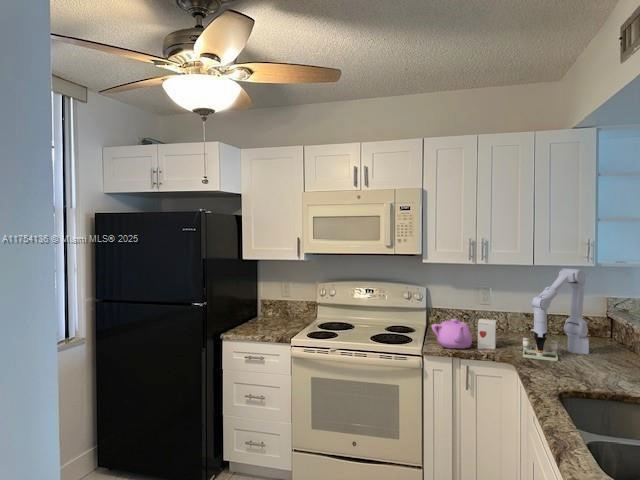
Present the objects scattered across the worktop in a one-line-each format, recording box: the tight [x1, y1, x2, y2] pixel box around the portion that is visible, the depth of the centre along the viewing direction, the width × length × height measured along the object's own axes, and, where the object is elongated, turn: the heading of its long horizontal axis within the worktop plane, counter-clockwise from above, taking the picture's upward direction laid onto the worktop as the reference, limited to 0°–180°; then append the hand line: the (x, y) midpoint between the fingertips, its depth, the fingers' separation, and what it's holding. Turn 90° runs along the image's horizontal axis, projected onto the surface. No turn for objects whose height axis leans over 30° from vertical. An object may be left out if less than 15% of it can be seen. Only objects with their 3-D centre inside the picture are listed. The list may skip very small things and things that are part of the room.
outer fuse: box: [522, 337, 530, 350], centre depth 226 cm, size 3×3×6 cm
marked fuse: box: [535, 344, 544, 357], centre depth 214 cm, size 3×3×6 cm
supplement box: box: [477, 318, 497, 350], centre depth 232 cm, size 9×9×15 cm
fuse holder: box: [519, 345, 562, 356], centre depth 223 cm, size 19×6×2 cm, turn 63°
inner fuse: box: [550, 339, 559, 353], centre depth 220 cm, size 3×3×6 cm
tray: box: [522, 349, 559, 362], centre depth 214 cm, size 15×11×2 cm
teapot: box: [431, 318, 473, 350], centre depth 233 cm, size 23×21×15 cm
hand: (540, 348), depth 214 cm, fingers open, 7 cm apart
